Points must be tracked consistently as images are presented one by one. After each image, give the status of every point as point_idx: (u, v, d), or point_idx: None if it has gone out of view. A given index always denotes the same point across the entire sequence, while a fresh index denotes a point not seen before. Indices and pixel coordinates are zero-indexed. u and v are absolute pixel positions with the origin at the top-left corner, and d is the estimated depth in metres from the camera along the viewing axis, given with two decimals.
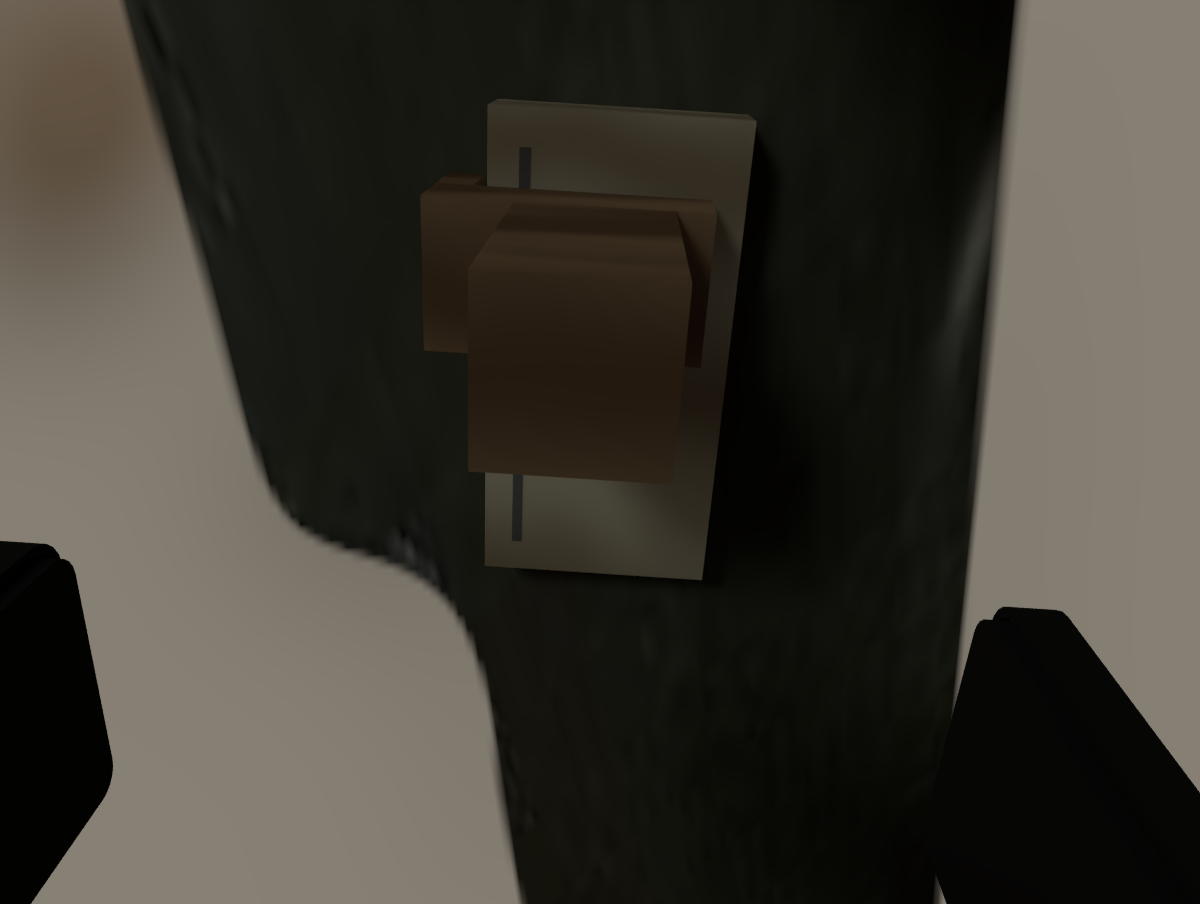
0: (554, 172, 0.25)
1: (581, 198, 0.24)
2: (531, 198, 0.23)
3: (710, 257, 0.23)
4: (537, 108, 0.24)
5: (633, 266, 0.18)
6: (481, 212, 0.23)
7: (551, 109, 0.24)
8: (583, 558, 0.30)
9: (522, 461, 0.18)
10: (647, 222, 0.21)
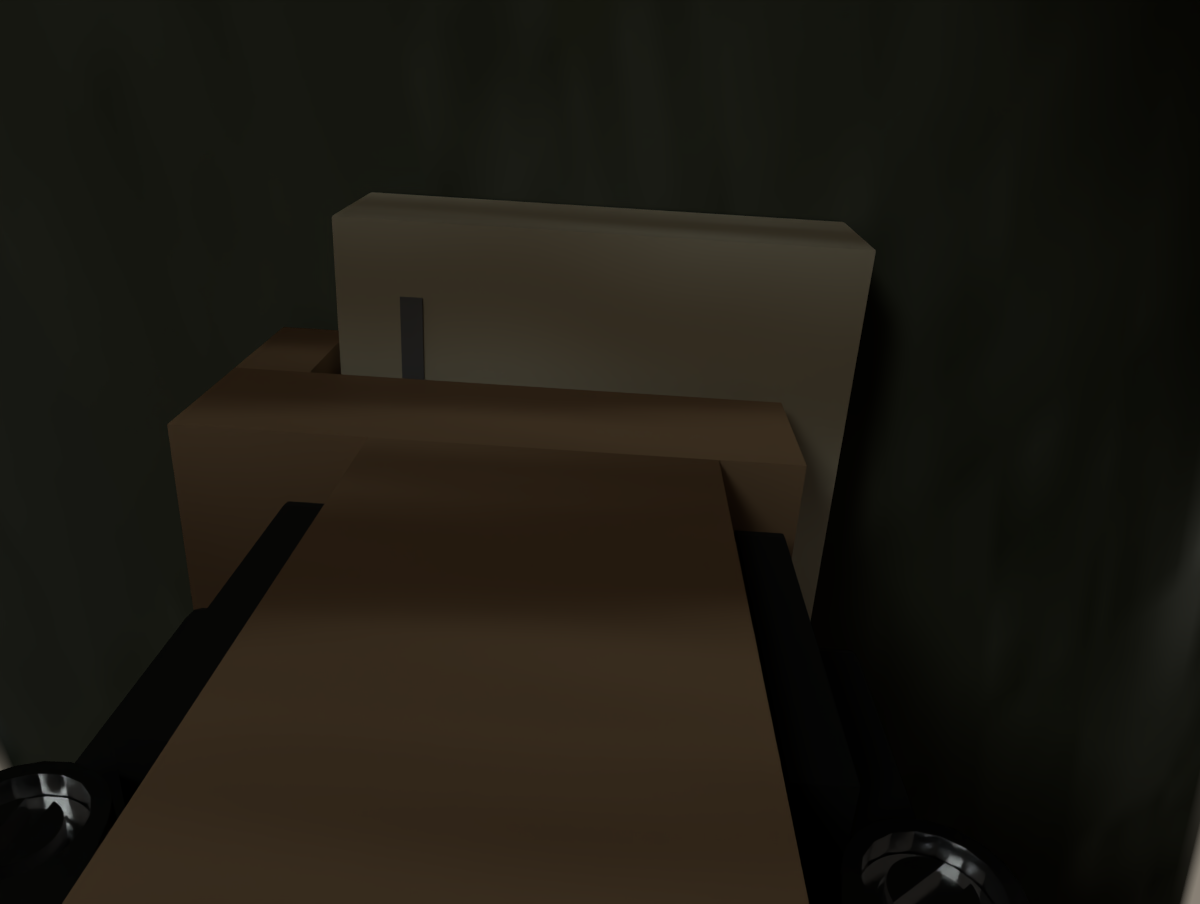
0: (471, 344, 0.13)
1: (519, 414, 0.12)
2: (411, 422, 0.11)
3: (789, 547, 0.11)
4: (432, 224, 0.12)
5: (621, 896, 0.05)
6: (301, 457, 0.11)
7: (460, 226, 0.12)
8: None
9: None
10: (658, 525, 0.09)
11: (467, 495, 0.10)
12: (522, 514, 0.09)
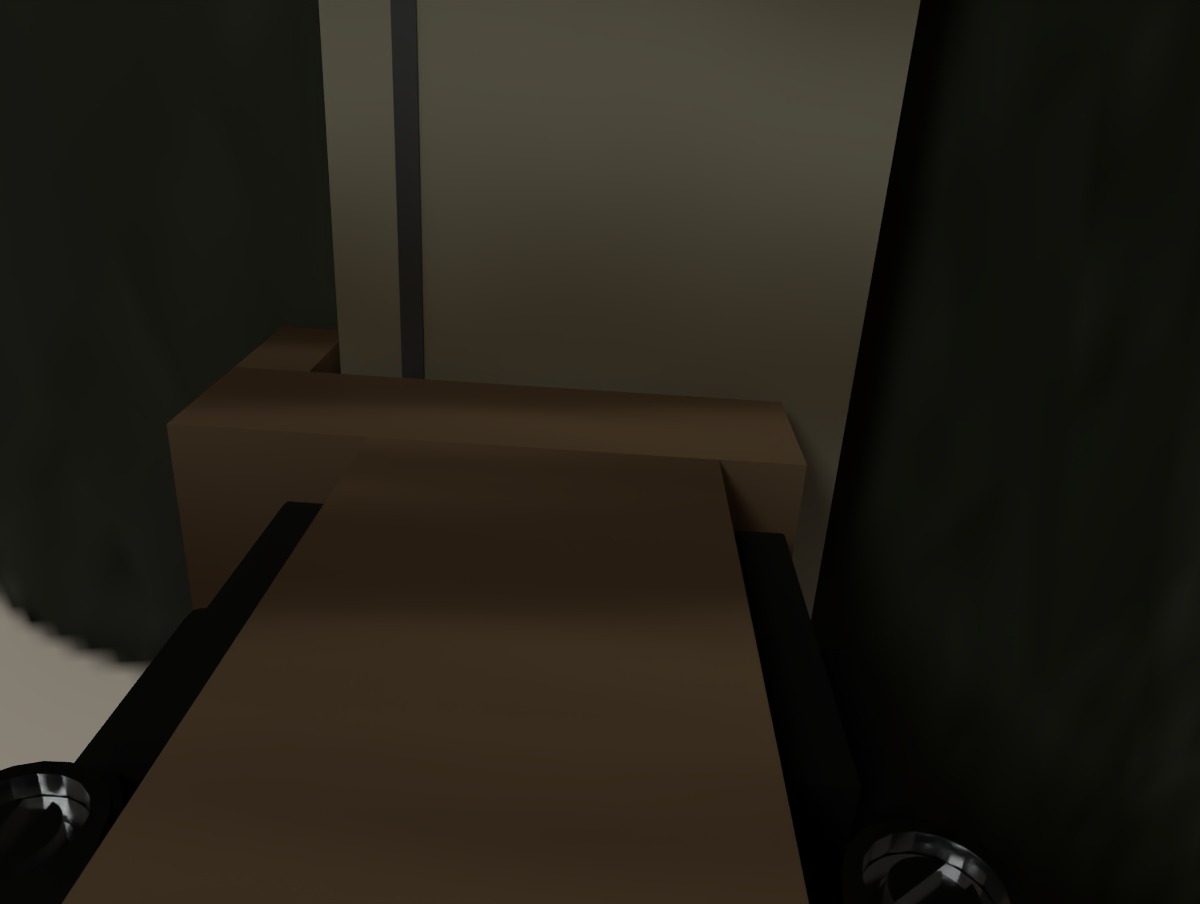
0: None
1: (518, 414, 0.12)
2: (411, 421, 0.11)
3: (789, 546, 0.11)
4: None
5: (621, 897, 0.05)
6: (300, 457, 0.11)
7: None
8: None
9: None
10: (658, 525, 0.09)
11: (467, 495, 0.10)
12: (522, 514, 0.09)
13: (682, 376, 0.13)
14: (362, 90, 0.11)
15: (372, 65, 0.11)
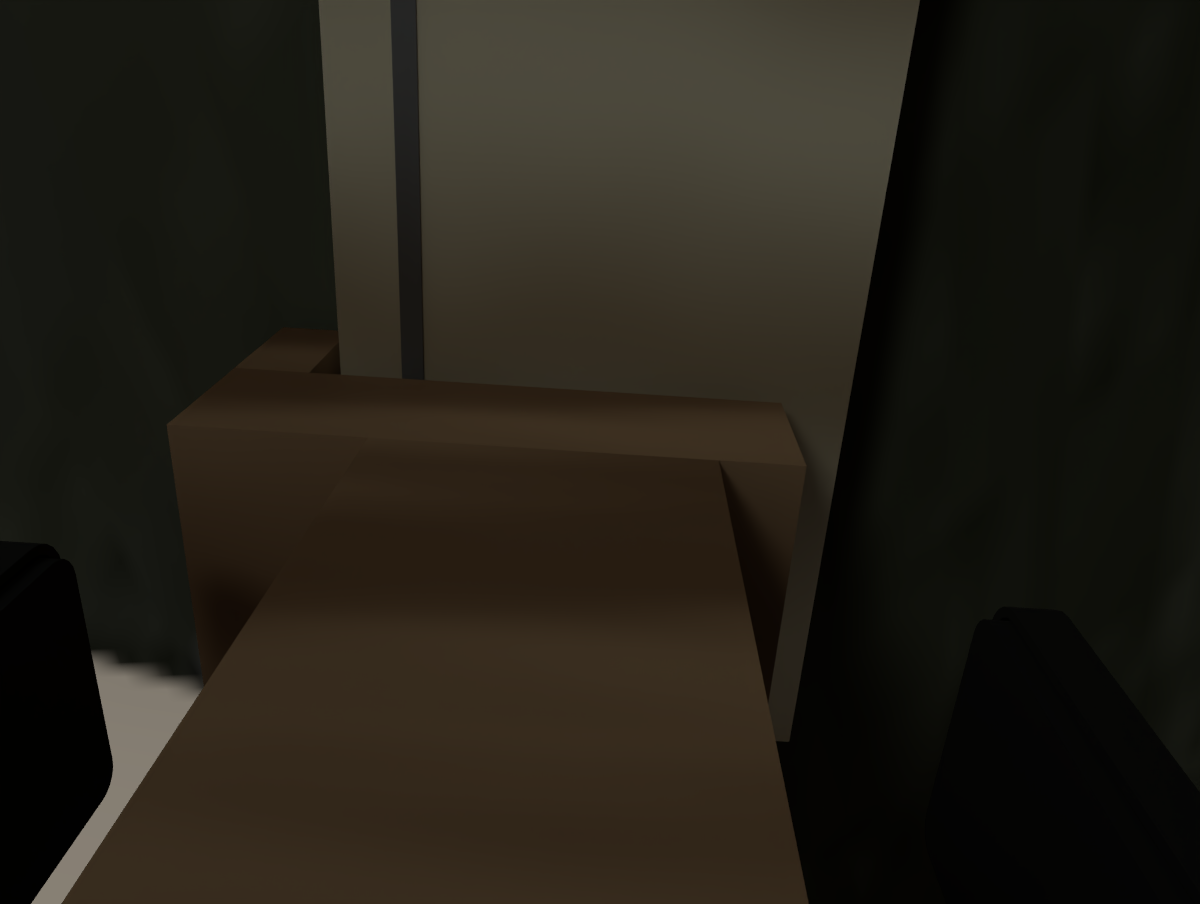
0: None
1: (518, 414, 0.12)
2: (411, 422, 0.11)
3: (789, 547, 0.11)
4: None
5: (620, 897, 0.05)
6: (300, 458, 0.11)
7: None
8: None
9: None
10: (658, 525, 0.09)
11: (467, 495, 0.10)
12: (522, 514, 0.09)
13: (682, 377, 0.13)
14: (362, 92, 0.11)
15: (372, 67, 0.11)
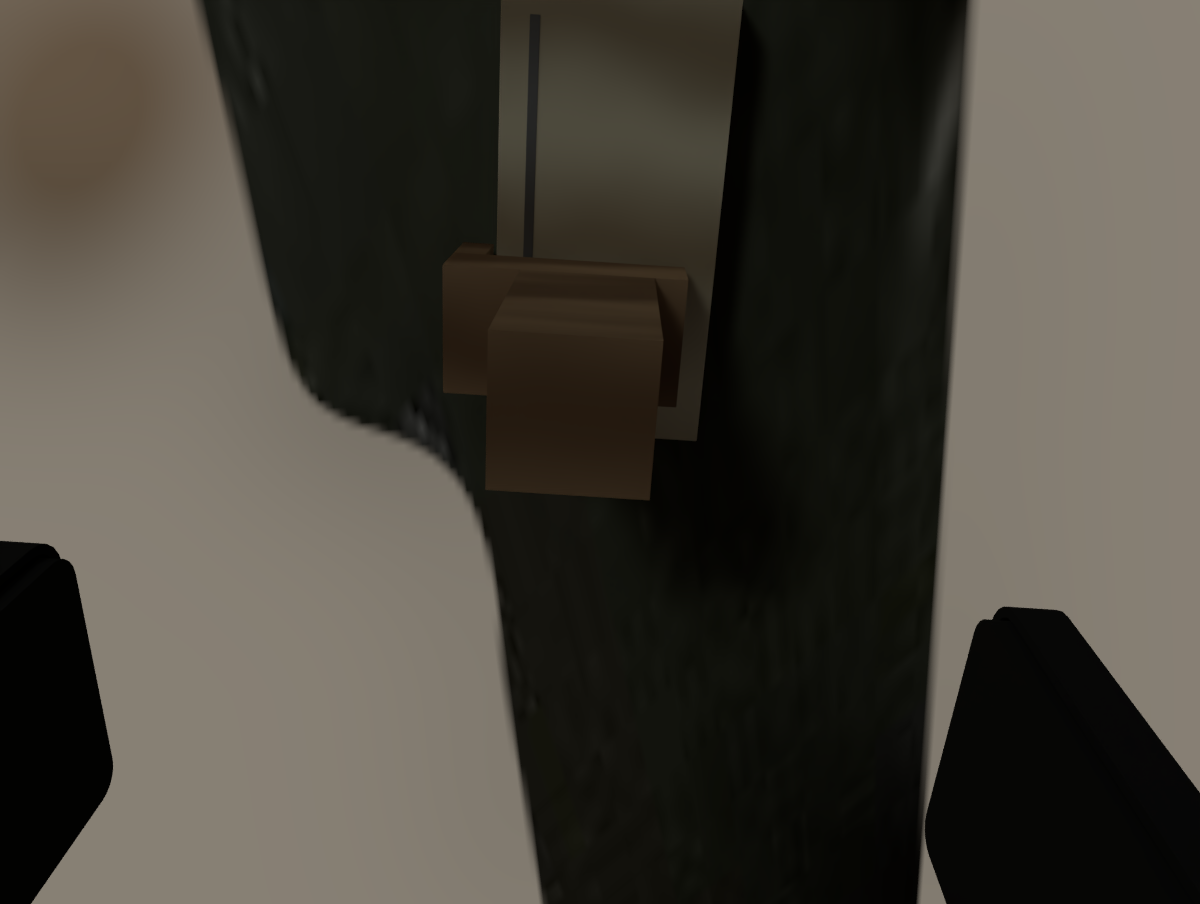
0: (561, 38, 0.28)
1: (576, 266, 0.29)
2: (534, 266, 0.28)
3: (683, 315, 0.28)
4: None
5: (617, 326, 0.22)
6: (493, 278, 0.28)
7: None
8: None
9: (529, 481, 0.23)
10: (630, 288, 0.26)
11: (562, 281, 0.27)
12: (582, 285, 0.26)
13: (643, 258, 0.30)
14: (514, 138, 0.29)
15: (518, 128, 0.29)
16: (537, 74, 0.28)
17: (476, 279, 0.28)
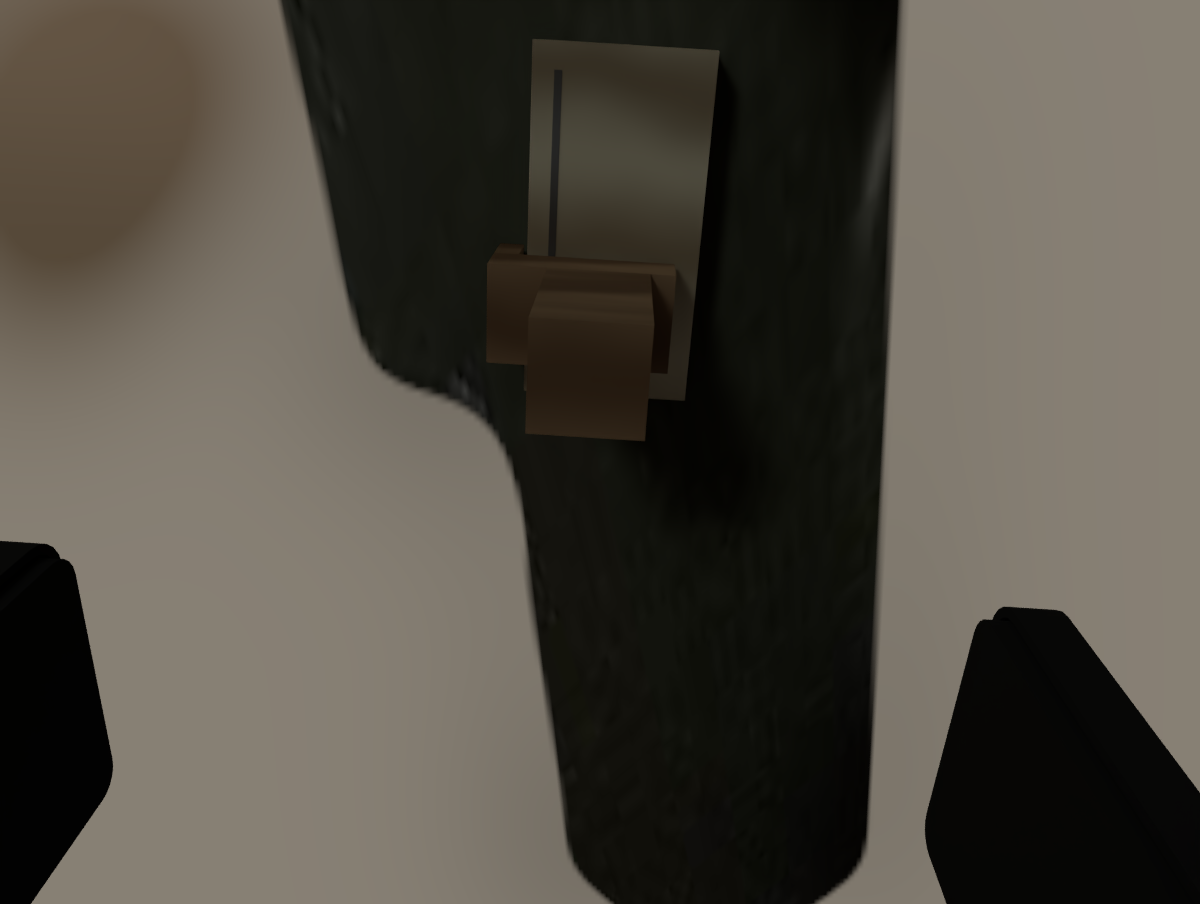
0: (578, 88, 0.36)
1: (589, 264, 0.37)
2: (557, 265, 0.37)
3: (672, 302, 0.37)
4: (567, 41, 0.35)
5: (621, 314, 0.31)
6: (526, 274, 0.36)
7: (577, 42, 0.35)
8: None
9: (557, 427, 0.31)
10: (631, 283, 0.35)
11: (579, 277, 0.35)
12: (595, 280, 0.35)
13: (641, 257, 0.38)
14: (541, 164, 0.37)
15: (545, 156, 0.37)
16: (560, 115, 0.36)
17: (513, 275, 0.36)
